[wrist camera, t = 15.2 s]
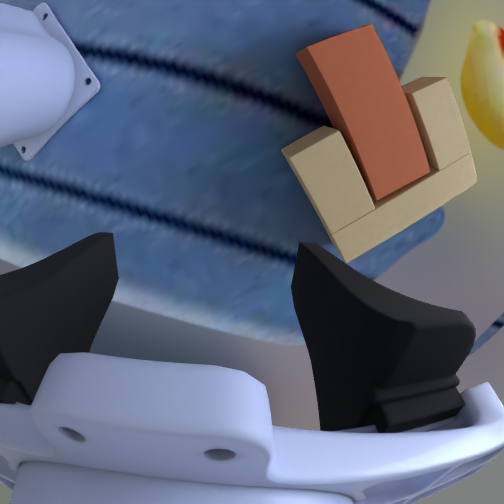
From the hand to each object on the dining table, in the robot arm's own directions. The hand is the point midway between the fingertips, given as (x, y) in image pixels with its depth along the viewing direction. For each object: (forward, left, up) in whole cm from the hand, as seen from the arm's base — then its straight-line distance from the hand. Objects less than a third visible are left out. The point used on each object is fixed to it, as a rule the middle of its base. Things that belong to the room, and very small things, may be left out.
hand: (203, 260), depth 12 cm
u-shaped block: (+4, +11, -9) cm, 15 cm away
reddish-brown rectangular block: (0, +11, -9) cm, 14 cm away
